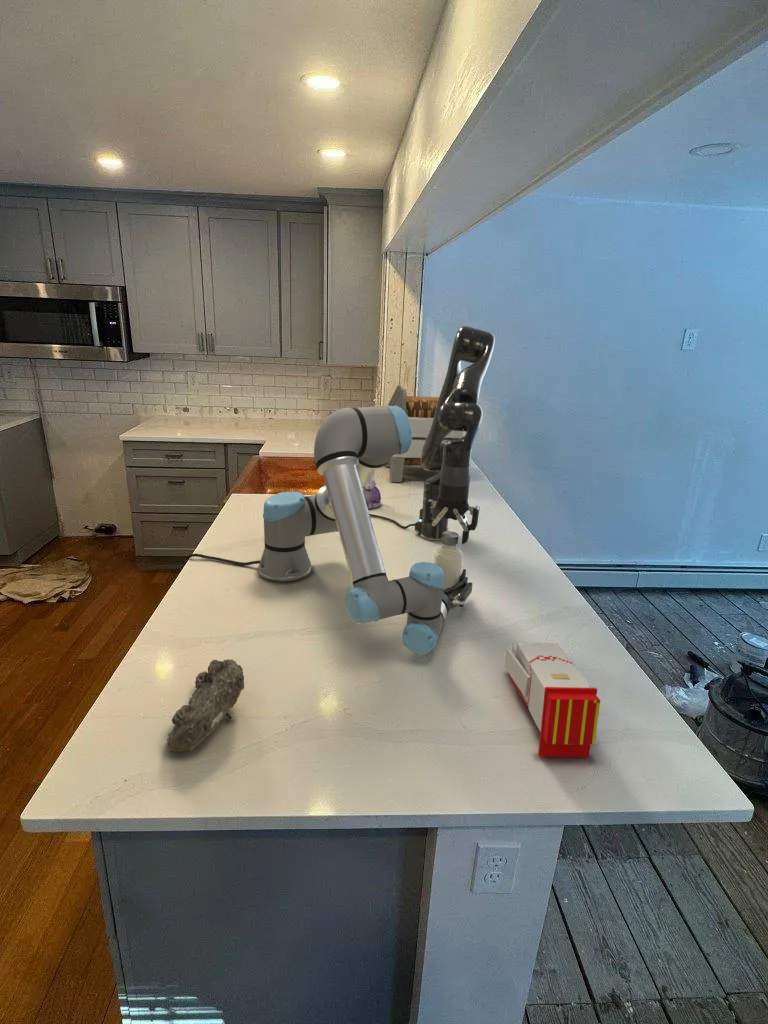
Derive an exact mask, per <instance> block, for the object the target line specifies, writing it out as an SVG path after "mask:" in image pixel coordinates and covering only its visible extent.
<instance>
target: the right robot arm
mask: <svg viewBox="0 0 768 1024" xmlns="http://www.w3.org/2000/svg"><path fill="white" fill-rule="evenodd" d="M495 341H496V338H495V335H494V334H493V333H491V332H490V331H487V330H483V329H479V328H476V327H472V326H467V325H462V326H460V327H459V328H458V330H457V332H456V334H455V336H454V340H453V344H452V347H451V352H450V358H449V361H448V366H447V370H446V375H445V379H444V382H443V385H442V387H441V391H440V394H439V396H438V397H439V400H438V403H437V407H436V411H435V415H434V419H433V422H432V425H431V428H430V431H429V434H428V436H427V438H426V441H425V443H424V446H423V449H422V453H421V465H422V466H421V467H422V469H423V470H424V471H428V472H437V473H435V475H433V476H431V477H428V478H427V479H425V480H424V482H423V493H422V496H423V497H422V506H421V508H420V509H419V516H418V521H416V522H414V523H409V524H408V525H407V524H406V525H404V526H403V525H402V524H400V523H399V522H398V521H396V520H395V519H392V518H390V517H386V516H382V515H378V514H372V513H369V515H370V517H374V518H379V519H383V520H386V521H389V522H392V523H394V524H395V525H396V526H398V527H399V528H401V529H405V530H406V529H408V528H410V527H414V531H415V532H417V535H418V536H420V538H421V539H424V540H426V541H432V542H441V539H442V533H443V532H446V531H449V527H448V525H449V520H450V519H451V520H453V521H457V522H458V523H459V525H461V528H462V529H463V530H462V535H461V545H465V544H466V543H468V541H469V539H470V531H475V530H476V529H477V527H478V522H479V515H480V510H481V509H480V506H479V505H475V506H472V505H470V504H469V492H470V484H471V483H470V482H471V464H472V463H471V461H472V452H473V446H474V442H475V439H476V436H477V433H478V431H479V428H480V427H481V424H482V421H483V417H484V416H483V415H484V414H483V413H484V412H483V409H482V407H481V406H480V404H478V401H479V397H480V393H481V387H482V383H483V380H484V377H485V375H486V373H487V370H488V367H489V365H490V362H491V359H492V355H493V352H494V350H495V349H494V348H495ZM461 362H466V363H469V364H470V365H468V366H467V367H465V368H463V369H462V365H461V364H462V363H461ZM453 430H454V431H464V433H465V434H464V435H463V437H462V438H458V439H451V440H447V441H446V442H445V443H441V442H442V441H443V439H444V438H445V437H446V436H447V435H448V434H449V433H451V432H452V431H453ZM468 511H469V514H470V515H471V523H469V521H468V517H467V515H466V513H467V512H468Z"/></svg>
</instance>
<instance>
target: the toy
mask: <svg viewBox="0 0 768 1024" xmlns="http://www.w3.org/2000/svg"><path fill="white" fill-rule="evenodd" d="M504 668H505V670H506V671H507V675H508V676H509V678H510V680H511V682H512V683H513V685H514V687H515V688H516V690H517V691H518V693H519V695H520V697H521V698H522V700H523V702H524V703H525V705H526V707H527V708H528V711H529V713H530V715H531V717H532V719H533V721H534V723H535V725H536V727H537V729H538V731H539V743H538V753H537V755H538V757H539V758H590V753H591V746H593V745H595V744H596V738H597V729H598V722H599V713H600V706H601V699H600V698H599V696H598V688H597V687H591V686H590V684H589V683H588V682H587V680H586V679H585V678H584V676H583V675H582V674H581V672H580V671H579V669H578V668H577V667H576V666H575V664H574V663H573V661H572V660H571V659H570V658H569V657H568V655H567V654H566V653H565V651H564V649H563V648H562V647H561V646H560V645H559V643H556V642H555V643H554V642H516V643H511V648H507V649H506V654H505V662H504Z"/></svg>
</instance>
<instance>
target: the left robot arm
mask: <svg viewBox="0 0 768 1024" xmlns="http://www.w3.org/2000/svg"><path fill="white" fill-rule="evenodd" d="M411 441H412V431H411V425H410V421H409V418H408V416H407V414H406V413H405V411H404V410H403V409H402V408H400V407H398V406H388V404H386V405H379V406H378V405H377V406H361V407H343V408H339V409H336V410H335V411H333V412H331V413H330V414H329V415H327V417H325V419H324V420H322V423H321V424H320V426H319V428H318V430H317V433H316V435H315V439H314V447H313V458H314V463H315V468H316V472H317V473H318V474H319V475H320V476H322V477H323V479H324V483H325V484H324V485H323V486H321V487H320V488H319V489H318V491H317V493H316V494H314V495H306V496H305V495H304V494H303V493H302V492H299V491H294V490H293V491H290V490H289V491H282V492H277V493H275V494H273V495H271V496H269V497H268V498H266V500H264V503H263V513H262V519H263V539H264V541H263V542H264V548H263V551H262V554H261V557H260V559H259V560H252V561H246V562H245V561H243V562H242V561H236V560H233V559H226V558H222V557H217V556H211V555H207V554H206V555H205V554H202V553H191V554H188V555H187V556H186V557H185V558H184V560H189V559H191V558H195V557H198V558H203V559H205V560H206V559H207V560H212V561H213V560H214V561H219V562H223V563H228V564H231V565H238V566H251V565H257V564H258V573H259V575H260V577H262V578H263V579H265V580H267V581H271V582H276V583H291V582H296V581H300V580H303V579H305V578H307V577H308V576H309V575H310V574H311V572H312V562H311V560H310V557H309V554H308V551H307V548H306V537H310V536H316V535H322V534H330V533H338V534H339V538H340V539H339V540H340V542H341V546H342V550H343V553H344V557H345V561H346V565H347V568H348V572H349V575H350V580H351V582H352V586H353V587H352V588H351V589H348V591H347V592H346V595H345V608H346V612H347V614H348V616H349V618H350V620H351V621H352V622H354V623H356V624H358V625H359V624H360V625H361V624H366V623H372V622H378V621H380V620H385V619H388V618H391V617H395V616H398V615H399V616H400V615H403V614H404V615H405V614H407V616H406V617H407V618H406V625H405V626H404V627H403V632H402V635H401V640H402V643H403V646H404V647H405V649H407V651H409V652H410V653H412V654H415V655H420V656H421V655H426V654H428V653H430V652H431V651H432V650H433V649H434V648H435V646H436V644H437V643H438V639H439V636H440V633H441V631H442V628H443V625H444V623H445V620H446V618H447V616H448V614H449V611H450V609H451V607H453V606H452V605H453V604H456V605H458V607H459V608H464V607H465V603H466V601H467V599H468V597H470V595H471V594H472V591H473V582H468V581H469V577H468V576H466V574H467V569H464V568H463V569H462V570H461V576H460V579H459V583H457V584H456V585H454V586H452V587H451V588H449V587H448V588H446V589H445V590H443V589H444V572H443V570H442V568H441V567H439V566H438V565H436V564H434V562H428V561H420V562H416V563H414V564H412V565H411V567H410V569H409V573H408V576H405V577H399V578H396V579H391V580H389V579H388V576H387V573H386V569H385V566H384V561H383V558H382V555H381V552H380V551H381V550H380V548H379V544H378V541H377V537H376V533H375V530H374V527H373V522H372V520H371V516H370V515H369V514H370V513H369V509H368V508H367V505H366V501H365V497H364V494H363V487H364V486H365V484H366V483H367V481H368V480H369V478H370V477H371V475H372V474H373V473H374V474H375V472H376V470H377V469H381V468H383V467H386V466H385V465H386V464H387V463H388V461H389V460H390V459H391V457H392V456H393V455H395V454H399V455H401V454H403V453H406V452H407V451H408V450H409V448H410V446H411ZM374 471H375V472H374ZM458 594H459V595H458ZM457 595H458V597H457V598H456V599H454V597H455V596H457Z"/></svg>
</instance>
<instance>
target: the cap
mask: <svg viewBox="0 0 768 1024" xmlns="http://www.w3.org/2000/svg"><path fill="white" fill-rule="evenodd" d="M459 536H460V535H459V533H457V532H456V531H451V530H448V531H446V532H443V533H442V539H441V541H440V542H441V544H444V545H448V546H455V545H456V546H457V545H458V544H459V539H460V537H459Z"/></svg>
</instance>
